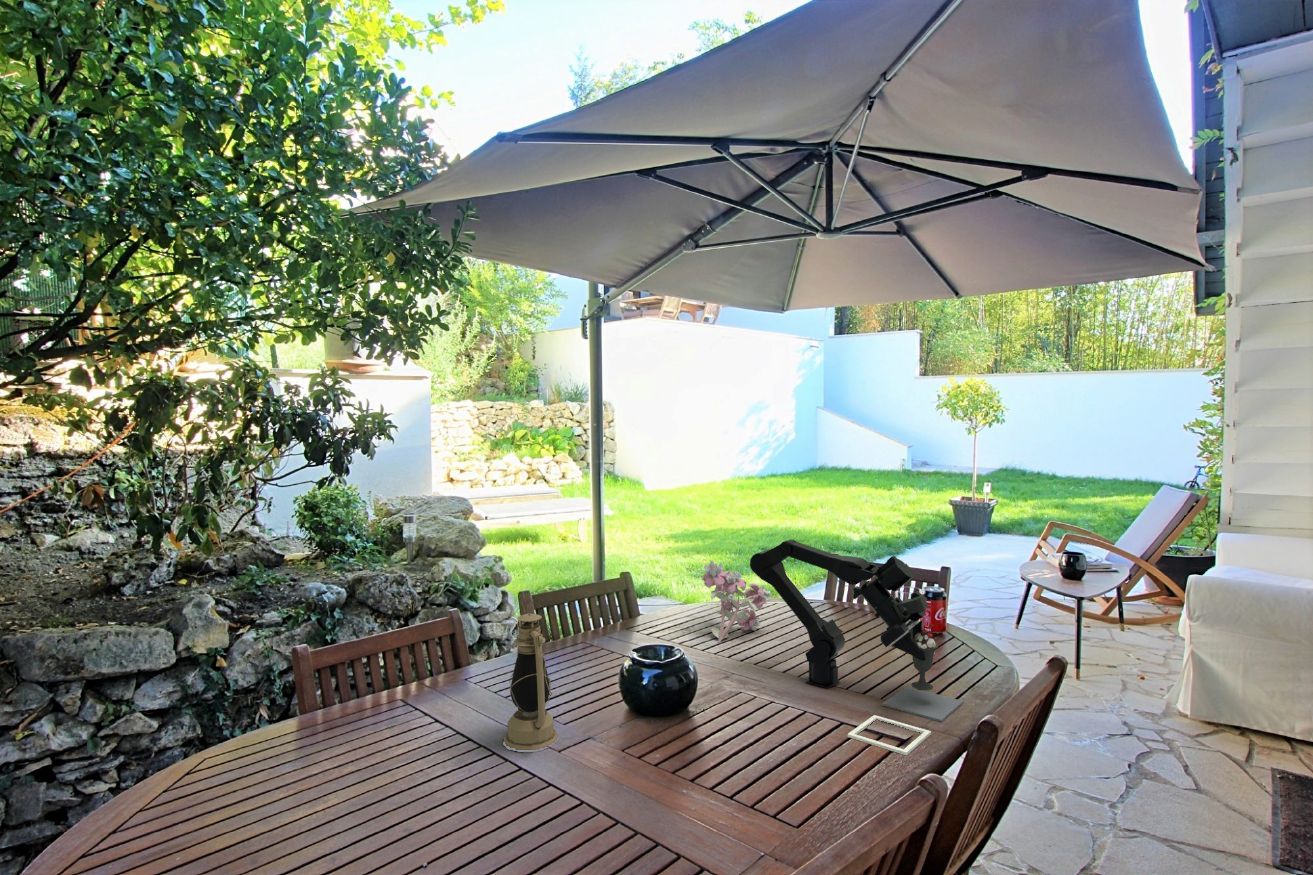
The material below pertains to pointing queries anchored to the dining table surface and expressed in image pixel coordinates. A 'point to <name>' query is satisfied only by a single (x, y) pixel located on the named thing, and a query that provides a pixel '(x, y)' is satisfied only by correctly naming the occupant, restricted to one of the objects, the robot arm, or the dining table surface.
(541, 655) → the lantern
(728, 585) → the flower
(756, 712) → the dining table surface
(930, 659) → the sundae
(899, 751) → the stand rim
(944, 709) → the mat
